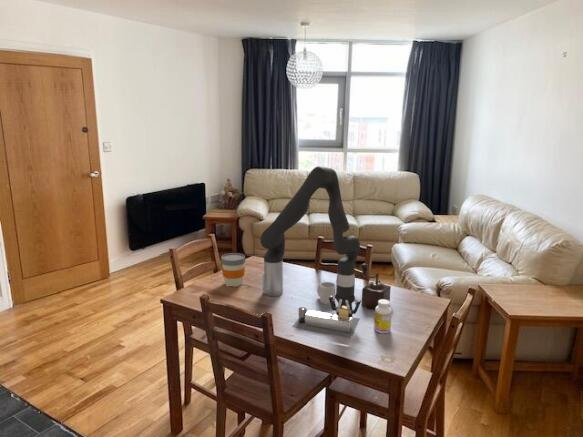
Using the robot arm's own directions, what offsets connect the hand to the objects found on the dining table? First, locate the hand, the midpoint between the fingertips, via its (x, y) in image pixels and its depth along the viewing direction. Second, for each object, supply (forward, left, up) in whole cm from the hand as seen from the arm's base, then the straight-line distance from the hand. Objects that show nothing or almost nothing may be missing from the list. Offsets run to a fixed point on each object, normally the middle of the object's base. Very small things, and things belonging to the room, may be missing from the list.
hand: (344, 320), depth 181 cm
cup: (-14, +19, -2) cm, 24 cm away
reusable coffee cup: (-65, +22, -2) cm, 69 cm away
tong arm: (-6, -4, -1) cm, 7 cm away
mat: (-7, -2, -2) cm, 8 cm away
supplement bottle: (+16, +1, -2) cm, 16 cm away
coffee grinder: (+7, +24, -2) cm, 25 cm away
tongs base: (-7, -6, -1) cm, 9 cm away
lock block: (0, 0, 0) cm, 0 cm away
